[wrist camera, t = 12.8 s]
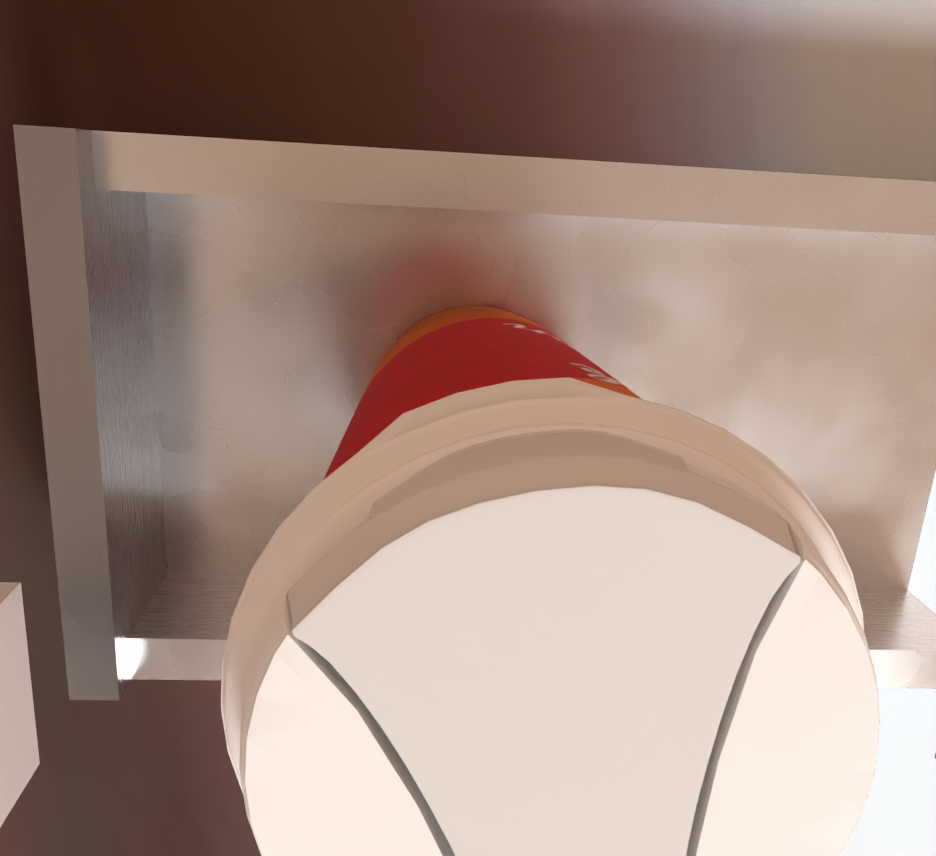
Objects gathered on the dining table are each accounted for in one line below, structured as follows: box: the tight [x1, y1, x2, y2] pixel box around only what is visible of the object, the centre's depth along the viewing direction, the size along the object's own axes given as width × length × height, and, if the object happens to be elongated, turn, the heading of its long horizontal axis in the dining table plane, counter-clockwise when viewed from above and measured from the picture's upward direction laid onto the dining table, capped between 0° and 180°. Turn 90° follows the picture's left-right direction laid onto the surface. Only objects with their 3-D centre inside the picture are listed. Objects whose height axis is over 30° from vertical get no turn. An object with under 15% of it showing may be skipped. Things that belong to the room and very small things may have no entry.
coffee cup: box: [221, 306, 880, 856], centre depth 16 cm, size 8×8×15 cm
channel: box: [13, 125, 936, 700], centre depth 22 cm, size 24×13×5 cm, turn 87°
